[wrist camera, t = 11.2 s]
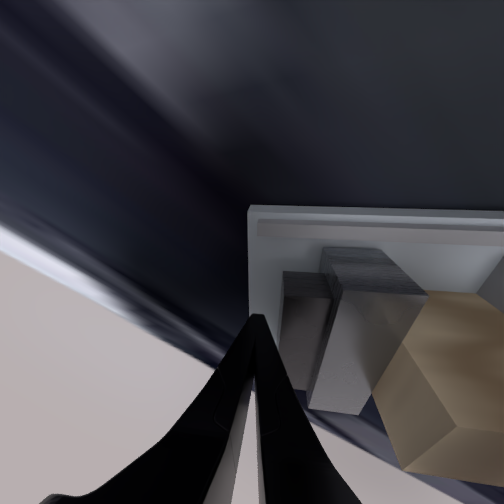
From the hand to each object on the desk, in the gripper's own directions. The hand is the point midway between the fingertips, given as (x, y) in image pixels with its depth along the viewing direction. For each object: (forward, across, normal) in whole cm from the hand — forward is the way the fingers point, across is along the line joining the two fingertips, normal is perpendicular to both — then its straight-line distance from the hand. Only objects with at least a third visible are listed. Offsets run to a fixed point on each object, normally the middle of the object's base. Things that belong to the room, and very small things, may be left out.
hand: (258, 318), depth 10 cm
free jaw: (+1, -3, 0) cm, 3 cm away
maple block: (+1, -8, 0) cm, 8 cm away
